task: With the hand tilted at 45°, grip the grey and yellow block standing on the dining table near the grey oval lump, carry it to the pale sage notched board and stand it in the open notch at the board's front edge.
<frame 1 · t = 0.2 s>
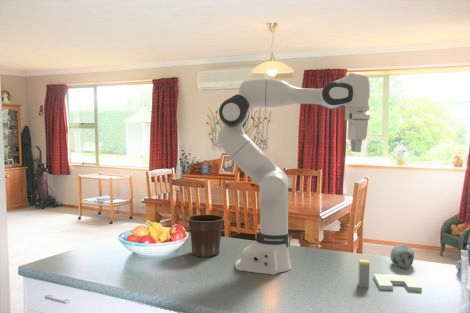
hand: (355, 151, 165), 47 cm above the kitchen counter, fingers open, 8 cm apart
grey oval lump: (401, 266, 177), on the kitchen counter
notched board: (396, 284, 155), on the kitchen counter
grey and yellow block: (363, 285, 154), on the kitchen counter
plant pot: (205, 253, 192), on the kitchen counter
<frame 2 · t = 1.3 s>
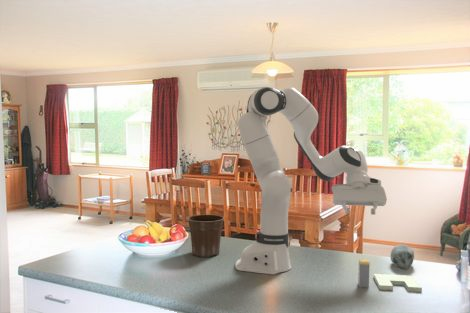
hand: (360, 213, 164), 24 cm above the kitchen counter, fingers open, 8 cm apart
nothing on the kitchen counter moved.
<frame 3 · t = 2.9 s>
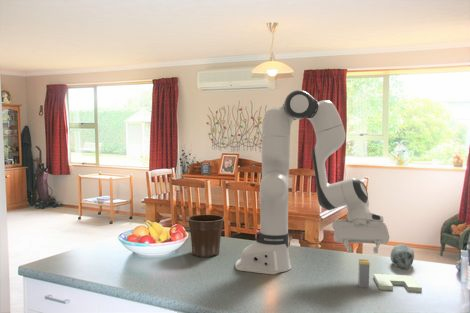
hand: (362, 252, 159), 10 cm above the kitchen counter, fingers open, 8 cm apart
nothing on the kitchen counter moved.
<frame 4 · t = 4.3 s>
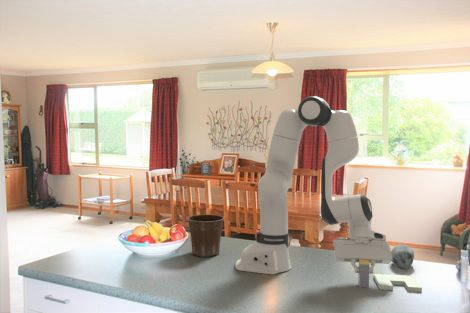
hand: (364, 272, 153), 5 cm above the kitchen counter, fingers closed on grey and yellow block, 3 cm apart
grey and yellow block: (363, 285, 154), on the kitchen counter, touching gripper
everything else where it was.
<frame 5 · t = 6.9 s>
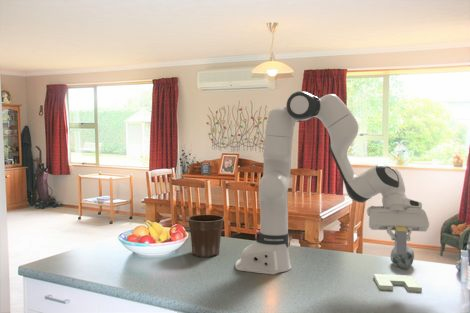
hand: (400, 239, 150), 17 cm above the kitchen counter, fingers closed on grey and yellow block, 3 cm apart
grey and yellow block: (400, 253, 151), point 13 cm above the kitchen counter, touching gripper
everything else where it was.
when the fingers open (7 cm above the kitchen counter, at t = 9.0 s): grey and yellow block drops 2 cm, on the kitchen counter.
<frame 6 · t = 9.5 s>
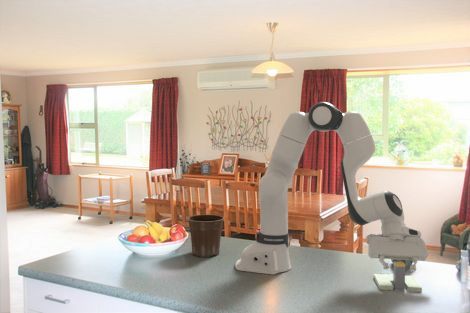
hand: (399, 269, 150), 7 cm above the kitchen counter, fingers open, 8 cm apart
grey and yellow block: (398, 288, 152), on the kitchen counter
everything else where it was.
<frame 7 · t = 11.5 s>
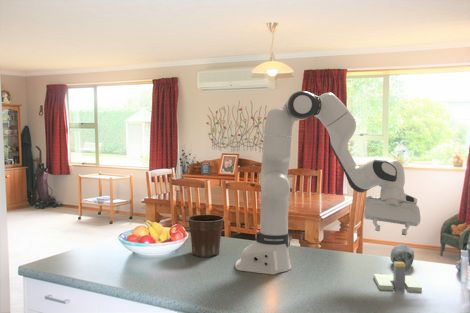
hand: (390, 232, 160), 18 cm above the kitchen counter, fingers open, 8 cm apart
nothing on the kitchen counter moved.
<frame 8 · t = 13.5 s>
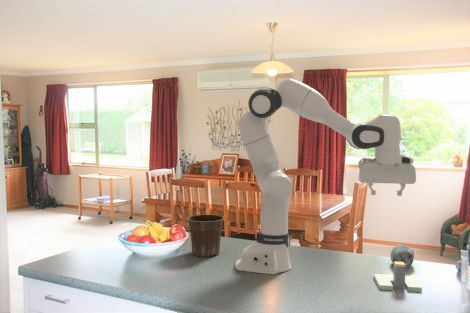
hand: (386, 195, 161), 31 cm above the kitchen counter, fingers open, 8 cm apart
nothing on the kitchen counter moved.
at the end: grey and yellow block 0.0 cm from the target spot on the notched board, point 0.0 cm above the notched board's base; grey and yellow block tilted 0°; the gripper is holding nothing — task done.
